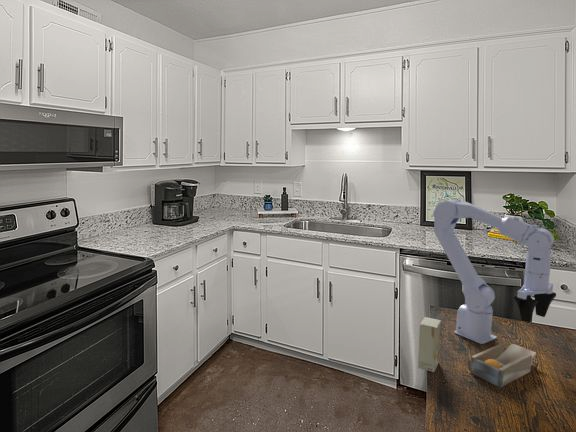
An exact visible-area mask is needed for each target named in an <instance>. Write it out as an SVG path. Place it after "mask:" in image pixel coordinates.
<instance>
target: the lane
mask: <svg viewBox="0 0 576 432" xmlns="http://www.w3.org/2000/svg"><path fill="white" fill-rule="evenodd" d="M536 355H537V352H536V351H533V350H531V349H528V348H525V347H523V346H520V345H518V344H515V343H511V344H510V345H509V346H507V348H506V349H505V343H502V342H501V343H499V344H496V345H494V346H492V347H490V348H487V349H485V350H483V351H481V352H480V351H479V353H476V354H474V355H472V356H471V361H470V374H472V375H474V376H477V377H478V378H481V379H482V380H484V381H485V382H488V383H490V384H492V385H494V386H497V387H498V388H502V387H505V386H506V385H508V384H511V383H512V382H514V381H516V380H517V379H519V378H521V377H523V376H525V375H526V374H528V373H530V372H531V370H532V369H531V367H532V366H533V361H534V358H535V357H536ZM488 359H494V360H496V361H498V362H499V364H500V365H501V368H499V369H497V368H495V367H493V366H491V365H489V364H487V363H484V362H485V361H486V360H488Z"/></svg>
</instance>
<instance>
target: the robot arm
mask: <svg viewBox="0 0 576 432" xmlns="http://www.w3.org/2000/svg"><path fill="white" fill-rule="evenodd" d="M432 215H433V219H434V221H433V223H434V226H433V227H434V229H433V231H434V234H435V236H436V238H437V241H438V242H439V243H440V246H441V248H442V249H443V251H444V253H445V254H446V256H447V258H448V261H449V262H450V263H451V266H452V267H453V269H454V271H455V272H456V275H457V277H458V278H459V280H460V282H461V284H462V285H461V287H462V289H461V291H462V294H463V296H464V304H462V305H460V306H459V308H458V309H457V311H456V312H457V313H456V326H455V330H454V333H455V334H456V335H458V336H461V337H464V338H466V339H469V340H470V341H473V342H475V343H478V344H481V345H484V344H487V343H490V342H491V341H493V340H495V339H497V338H498V337H497V335H494V334H492V324H493V312H494V309H493V307H492V303H493V302H494V301H495V298H496V294H495V291H494V290H493V288H492V287H490V286H489V285H488V284H487V283H486V281H485V280H484V278H482V277H481V276H480V275H478V273H477V270H476V269H475V268H474V267H475V266H474V265H473V264H472V262H471V260H470V258H469V257H468V255H467V253H466V251H465V250H464V248H463V245H462V244H461V242H460V241H459V239H458V237H457V235H456V234H455V231H454V230H455V228H456V225H457V222H458V221H459V220H460V219H469V218H471V219H473V220H475V221H477V222H478V221H479V222H480V223H483V224H486V225H489V226H491V227H494V228H496V229H497V231H498V232H499V234H500V235H502V236H504V237H506V238H509V239H511V240H513V241H515V242H518V243H520V244H522V245H523V244H524V245H526V247H527V252H526V256H525V257H526V258H525V270H524V280H523V281H524V283H523V285H522V287H521V288H520V289H519V290H517V294H514V295H513V299H514V300H515V302H516V305H517V308H518V310H519V315H520V320H521V322H525V323H527V324H529V323H531V321H532V319H533V315H534V311H535V315H536V316H539V317H542V318H545V317H546V316H547V313H548V310H549V308H550V306H551V304H552V302H553V301H554V300H555V298H556V297H557V293H556V292H554V290H553V289H554V283H551V282H550V273H551V265H552V264H551V262H552V256H551V255H552V246H553V244H554V242H555V241H554V239H555V238H554V234H553V233H552V232H551V231H550V230H549V229H547V228H546V227H538V225H537V224H534V223H533V224H529V223H527V222H525V221H522V220H520V217H518V216H516V215H515V216H513V217H512V216H507V217H504V218H503V217H501V216H499V215H497V214H495V213H492V212H490V211H488V210H487V209H483V208H482V207H479V206H477V205H474V204H472V203H470V202H468V201H465V200H463V201H462V200H460V199H459V198H451V199H449V200H443V201H442V200H441V201H440V202H438V203H437V205H436V206H435V208H434V211H433V212H432ZM532 296H533V297H532ZM533 298H534V299H533Z"/></svg>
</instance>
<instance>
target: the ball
mask: <svg viewBox="0 0 576 432" xmlns="http://www.w3.org/2000/svg"><path fill="white" fill-rule="evenodd" d="M484 363H487V364H489V365H491V366H493V367H495V368H497V369H499V368H501V365H500V364H499V362H498V361H496V360H494V359H488V360H486V361H485V362H484Z"/></svg>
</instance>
